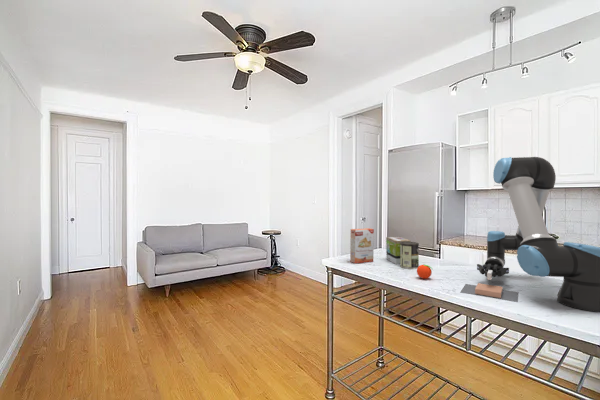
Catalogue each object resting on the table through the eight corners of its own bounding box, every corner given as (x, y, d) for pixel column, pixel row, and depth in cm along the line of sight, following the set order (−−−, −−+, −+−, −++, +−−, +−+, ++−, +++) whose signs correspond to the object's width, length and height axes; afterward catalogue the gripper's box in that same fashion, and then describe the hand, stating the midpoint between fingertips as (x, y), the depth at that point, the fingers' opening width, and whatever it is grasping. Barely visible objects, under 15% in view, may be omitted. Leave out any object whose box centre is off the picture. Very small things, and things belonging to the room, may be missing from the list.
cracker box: (355, 264, 184) (355, 229, 183) (349, 262, 189) (349, 228, 189) (374, 261, 189) (374, 228, 189) (368, 260, 195) (368, 227, 194)
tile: (502, 286, 128) (500, 292, 120) (502, 292, 128) (500, 298, 120) (478, 283, 133) (475, 288, 125) (478, 288, 133) (475, 294, 125)
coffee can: (417, 265, 179) (417, 241, 179) (420, 269, 169) (420, 244, 169) (399, 264, 181) (399, 241, 181) (401, 268, 171) (401, 244, 171)
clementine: (435, 278, 151) (435, 264, 151) (431, 281, 146) (431, 267, 146) (419, 275, 156) (419, 262, 156) (414, 278, 151) (414, 264, 151)
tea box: (385, 259, 196) (385, 236, 196) (400, 258, 197) (400, 236, 197) (395, 264, 181) (395, 240, 181) (411, 264, 182) (411, 239, 182)
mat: (518, 293, 128) (518, 292, 128) (517, 303, 116) (517, 302, 116) (465, 284, 140) (465, 283, 140) (459, 293, 128) (459, 292, 128)
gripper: (510, 275, 142) (507, 288, 123) (478, 271, 150) (471, 282, 131) (510, 259, 142) (507, 269, 123) (478, 256, 150) (471, 265, 131)
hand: (489, 276), depth 127 cm, fingers closed
